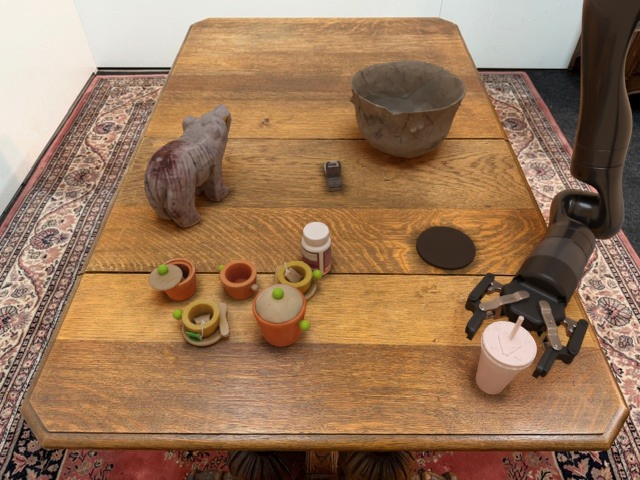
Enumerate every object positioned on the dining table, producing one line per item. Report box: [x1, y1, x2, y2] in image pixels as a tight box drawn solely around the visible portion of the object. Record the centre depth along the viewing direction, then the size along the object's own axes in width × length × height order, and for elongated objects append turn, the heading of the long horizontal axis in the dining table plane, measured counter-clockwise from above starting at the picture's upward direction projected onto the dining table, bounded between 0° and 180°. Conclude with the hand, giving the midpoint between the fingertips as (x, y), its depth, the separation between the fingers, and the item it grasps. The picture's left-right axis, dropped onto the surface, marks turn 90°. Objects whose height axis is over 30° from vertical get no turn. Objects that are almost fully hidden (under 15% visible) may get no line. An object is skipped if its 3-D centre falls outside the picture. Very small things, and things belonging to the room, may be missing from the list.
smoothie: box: [475, 316, 538, 395], centre depth 59 cm, size 6×6×14 cm
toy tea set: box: [147, 257, 323, 348], centre depth 69 cm, size 26×16×10 cm, turn 89°
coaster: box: [415, 225, 477, 271], centre depth 81 cm, size 10×10×1 cm
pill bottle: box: [300, 221, 332, 276], centre depth 76 cm, size 5×5×8 cm
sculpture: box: [143, 103, 232, 229], centre depth 86 cm, size 12×21×15 cm, turn 175°
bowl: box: [349, 59, 467, 159], centre depth 98 cm, size 22×22×15 cm
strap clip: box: [323, 160, 344, 192], centre depth 94 cm, size 8×3×4 cm, turn 7°
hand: (502, 354), depth 58 cm, fingers open, 8 cm apart
